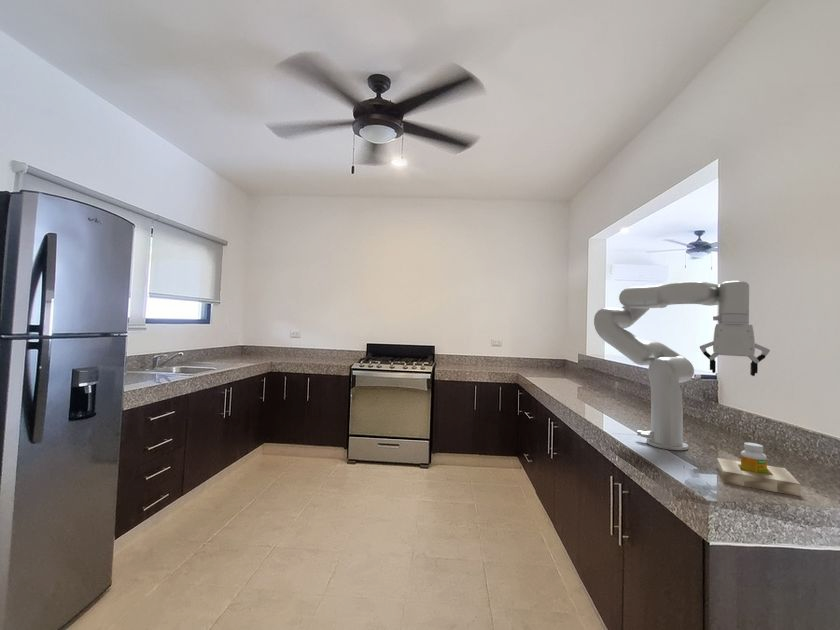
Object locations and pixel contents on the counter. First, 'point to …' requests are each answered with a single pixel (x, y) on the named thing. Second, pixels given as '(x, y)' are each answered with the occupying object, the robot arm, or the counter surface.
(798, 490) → the socket board
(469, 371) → the counter surface
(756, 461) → the supplement bottle
